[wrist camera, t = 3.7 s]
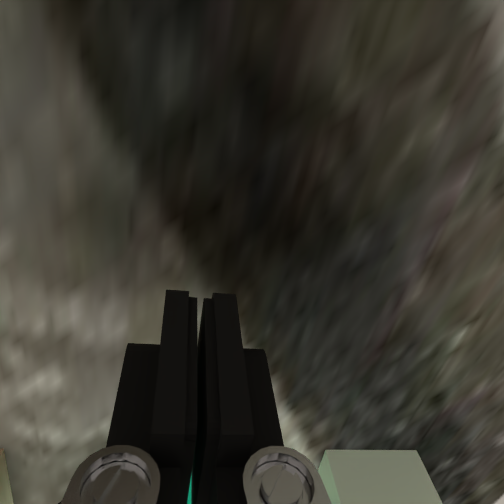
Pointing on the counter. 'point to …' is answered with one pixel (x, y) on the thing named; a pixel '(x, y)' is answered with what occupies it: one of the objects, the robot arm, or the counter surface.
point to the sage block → (376, 477)
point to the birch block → (4, 481)
